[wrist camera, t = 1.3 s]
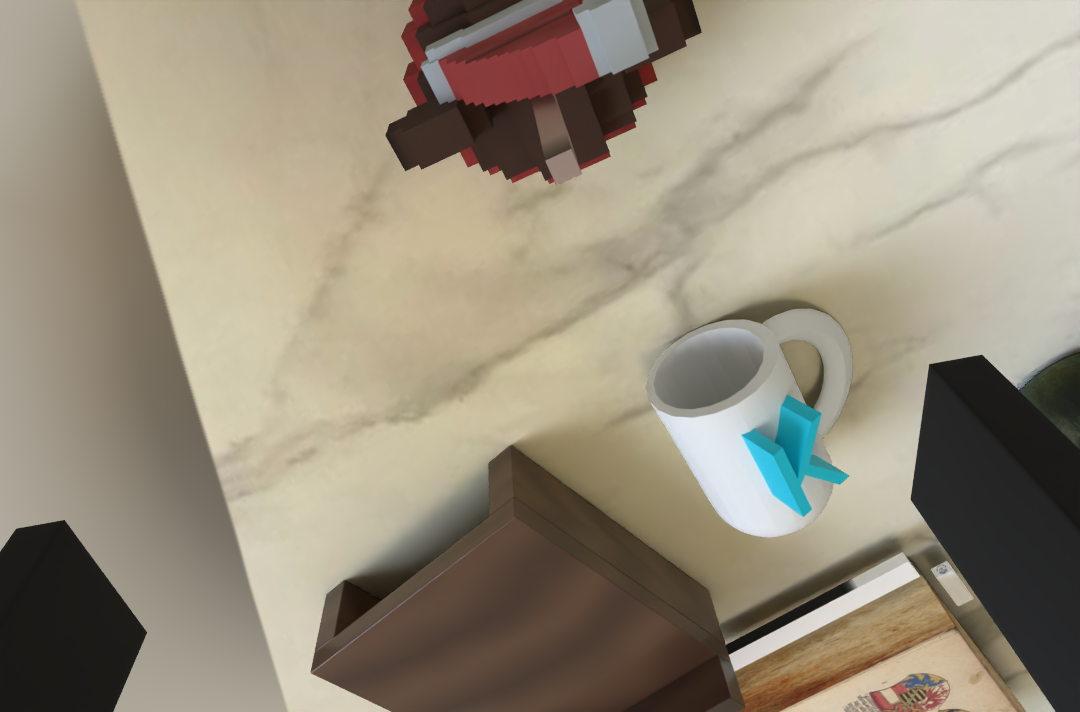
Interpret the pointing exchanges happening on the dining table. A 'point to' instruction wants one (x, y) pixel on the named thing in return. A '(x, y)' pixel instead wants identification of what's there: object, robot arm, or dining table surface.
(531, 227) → the dining table surface
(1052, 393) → the mug
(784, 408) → the mug
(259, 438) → the dining table surface
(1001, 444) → the robot arm
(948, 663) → the book
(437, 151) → the cake
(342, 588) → the shelf
